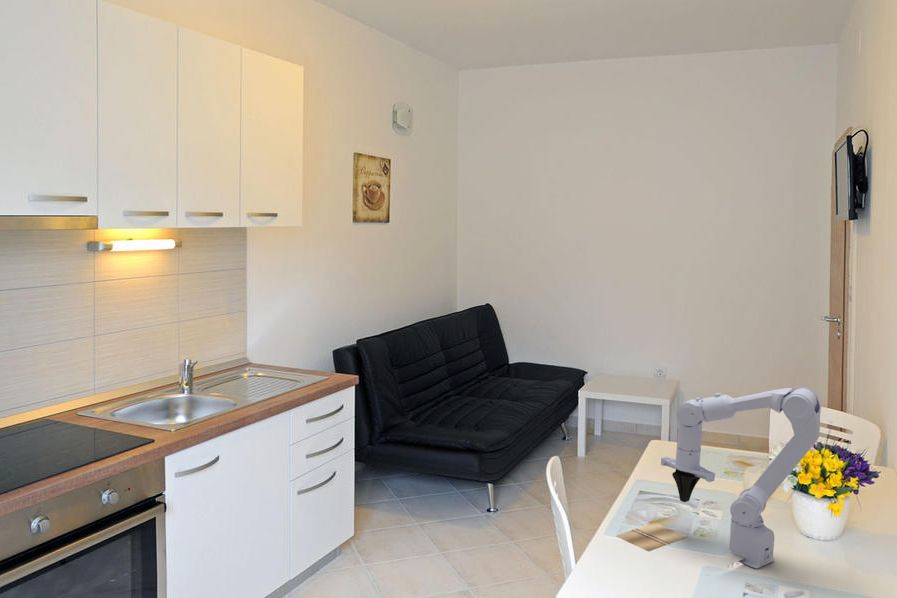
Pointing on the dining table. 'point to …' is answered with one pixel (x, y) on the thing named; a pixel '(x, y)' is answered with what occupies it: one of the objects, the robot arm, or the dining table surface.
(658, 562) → the dining table surface
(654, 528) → the plank
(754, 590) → the dining table surface
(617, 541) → the dining table surface
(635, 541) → the laid board
